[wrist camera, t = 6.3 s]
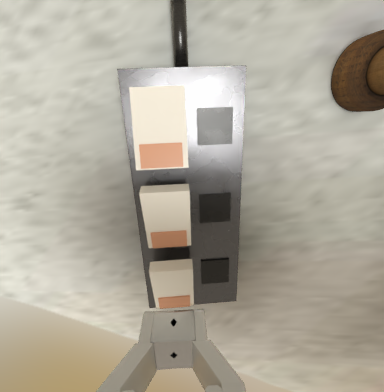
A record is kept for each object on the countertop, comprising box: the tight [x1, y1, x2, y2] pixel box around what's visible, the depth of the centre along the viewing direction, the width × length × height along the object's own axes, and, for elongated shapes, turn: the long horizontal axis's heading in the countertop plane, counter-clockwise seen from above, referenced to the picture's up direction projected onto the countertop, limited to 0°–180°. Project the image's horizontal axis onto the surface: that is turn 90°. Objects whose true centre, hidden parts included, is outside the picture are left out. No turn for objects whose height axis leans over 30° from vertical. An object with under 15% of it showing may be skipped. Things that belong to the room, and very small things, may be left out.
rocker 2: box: [149, 259, 194, 309], centre depth 22 cm, size 4×6×1 cm, turn 2°
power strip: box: [117, 0, 246, 308], centre depth 22 cm, size 10×30×5 cm, turn 2°
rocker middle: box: [139, 184, 191, 248], centre depth 20 cm, size 4×6×1 cm, turn 2°
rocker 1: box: [129, 85, 189, 170], centre depth 17 cm, size 4×6×1 cm, turn 2°
